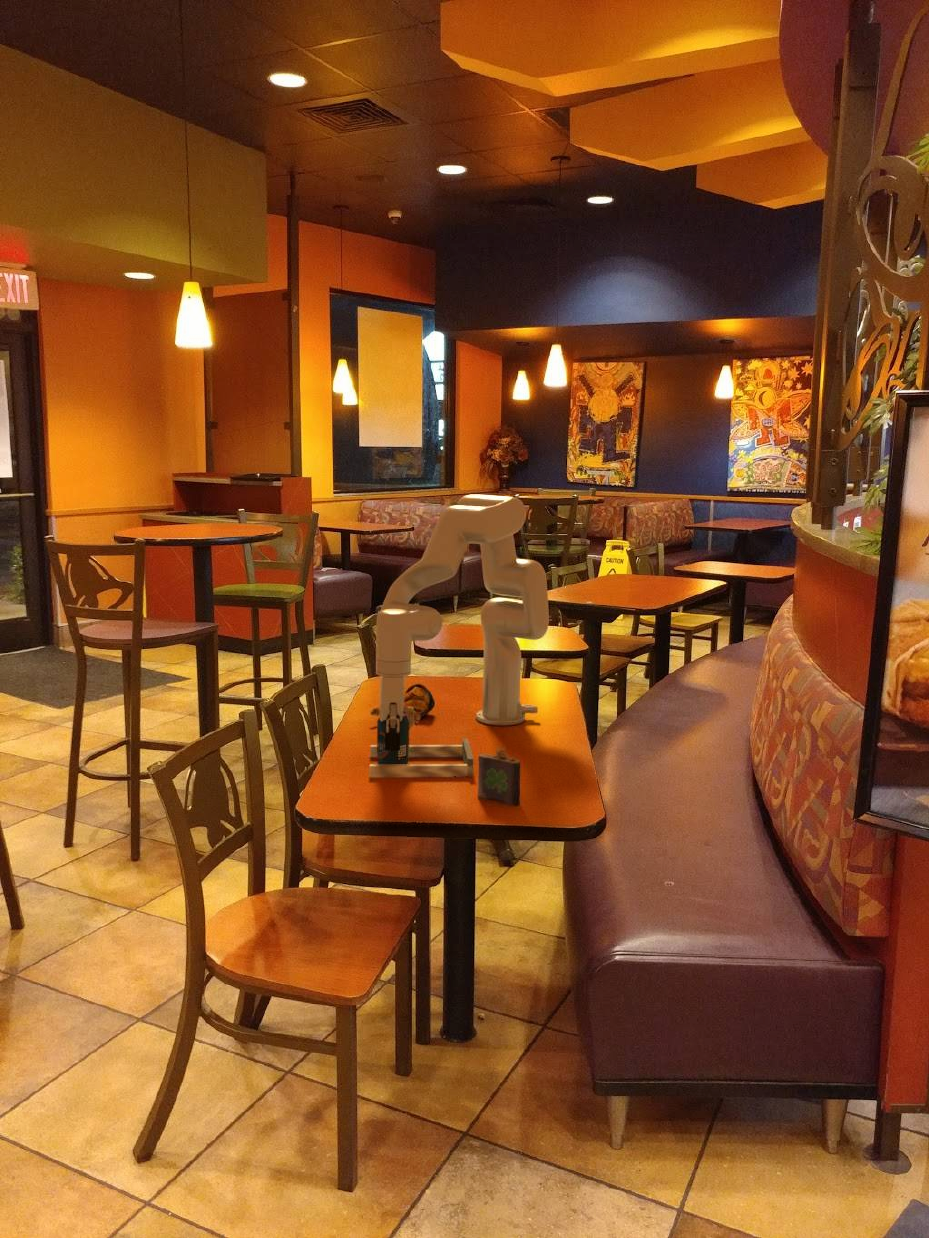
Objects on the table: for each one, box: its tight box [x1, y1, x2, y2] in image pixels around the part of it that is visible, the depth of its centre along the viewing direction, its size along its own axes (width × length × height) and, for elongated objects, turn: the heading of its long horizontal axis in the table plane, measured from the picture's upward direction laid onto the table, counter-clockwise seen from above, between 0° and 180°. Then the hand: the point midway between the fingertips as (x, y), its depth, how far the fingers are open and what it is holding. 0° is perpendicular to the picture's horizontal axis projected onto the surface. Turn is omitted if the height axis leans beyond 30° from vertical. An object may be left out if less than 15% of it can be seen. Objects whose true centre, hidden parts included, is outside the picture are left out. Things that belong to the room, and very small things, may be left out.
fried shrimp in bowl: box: [370, 683, 436, 718], centre depth 249 cm, size 9×11×18 cm
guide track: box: [368, 737, 474, 779], centre depth 214 cm, size 22×14×4 cm, turn 95°
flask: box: [477, 748, 521, 807], centre depth 194 cm, size 9×3×11 cm, turn 59°
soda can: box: [376, 711, 410, 764], centre depth 212 cm, size 7×7×12 cm
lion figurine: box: [403, 706, 421, 731], centre depth 233 cm, size 15×5×9 cm, turn 35°
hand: (392, 743), depth 212 cm, fingers open, 9 cm apart
